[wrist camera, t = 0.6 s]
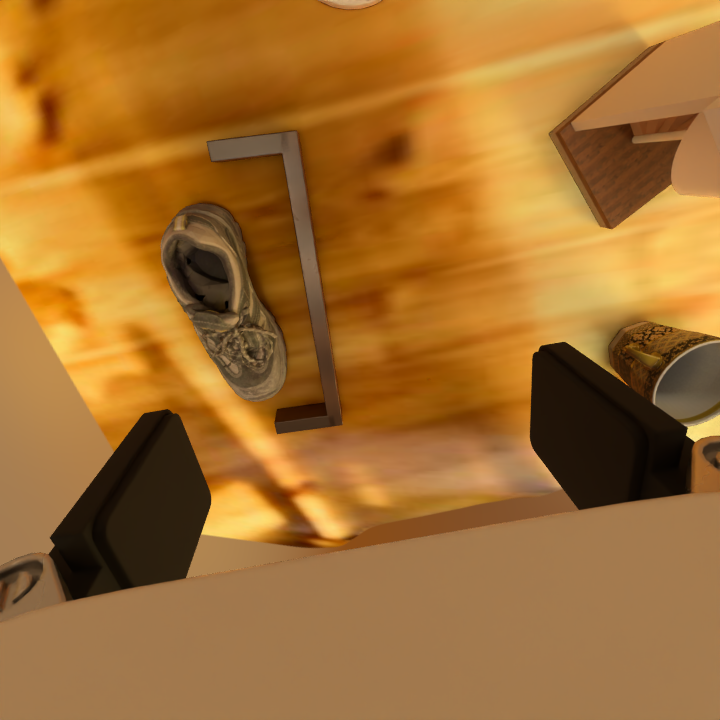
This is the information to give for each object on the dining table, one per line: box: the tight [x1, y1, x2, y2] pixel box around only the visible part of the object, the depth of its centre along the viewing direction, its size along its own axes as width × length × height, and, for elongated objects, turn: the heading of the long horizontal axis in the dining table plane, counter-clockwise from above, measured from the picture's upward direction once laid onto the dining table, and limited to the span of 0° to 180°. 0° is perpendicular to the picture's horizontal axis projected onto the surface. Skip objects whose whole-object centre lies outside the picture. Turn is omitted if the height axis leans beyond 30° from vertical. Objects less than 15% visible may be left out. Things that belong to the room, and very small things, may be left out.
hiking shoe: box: [161, 203, 287, 402], centre depth 40 cm, size 9×21×12 cm
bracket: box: [207, 131, 343, 434], centre depth 43 cm, size 31×8×3 cm, turn 6°
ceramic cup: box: [609, 321, 720, 427], centre depth 45 cm, size 13×10×10 cm
